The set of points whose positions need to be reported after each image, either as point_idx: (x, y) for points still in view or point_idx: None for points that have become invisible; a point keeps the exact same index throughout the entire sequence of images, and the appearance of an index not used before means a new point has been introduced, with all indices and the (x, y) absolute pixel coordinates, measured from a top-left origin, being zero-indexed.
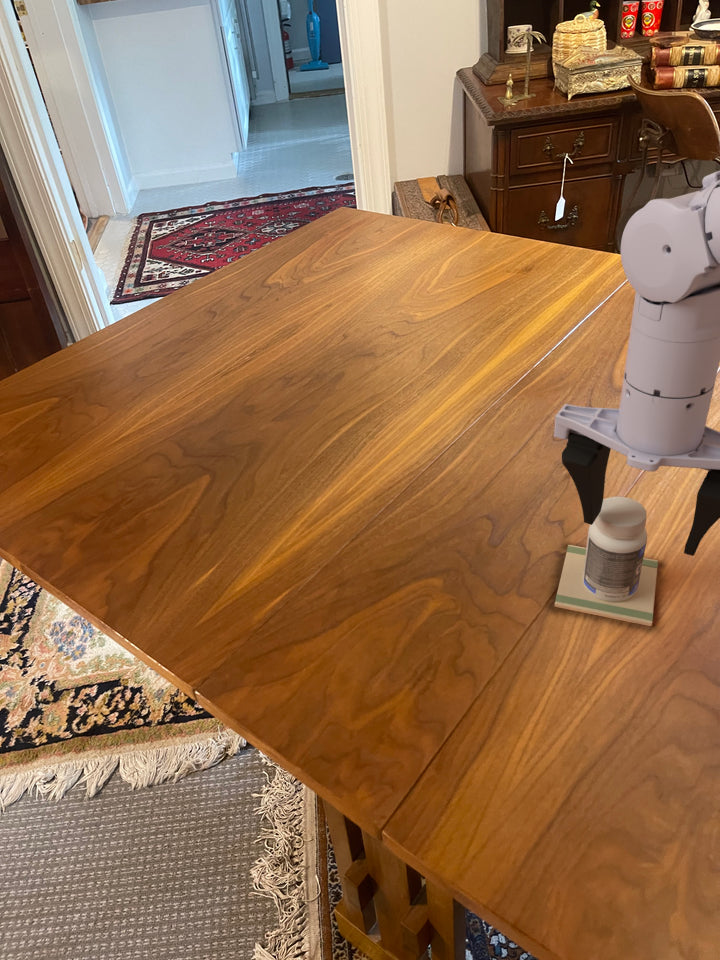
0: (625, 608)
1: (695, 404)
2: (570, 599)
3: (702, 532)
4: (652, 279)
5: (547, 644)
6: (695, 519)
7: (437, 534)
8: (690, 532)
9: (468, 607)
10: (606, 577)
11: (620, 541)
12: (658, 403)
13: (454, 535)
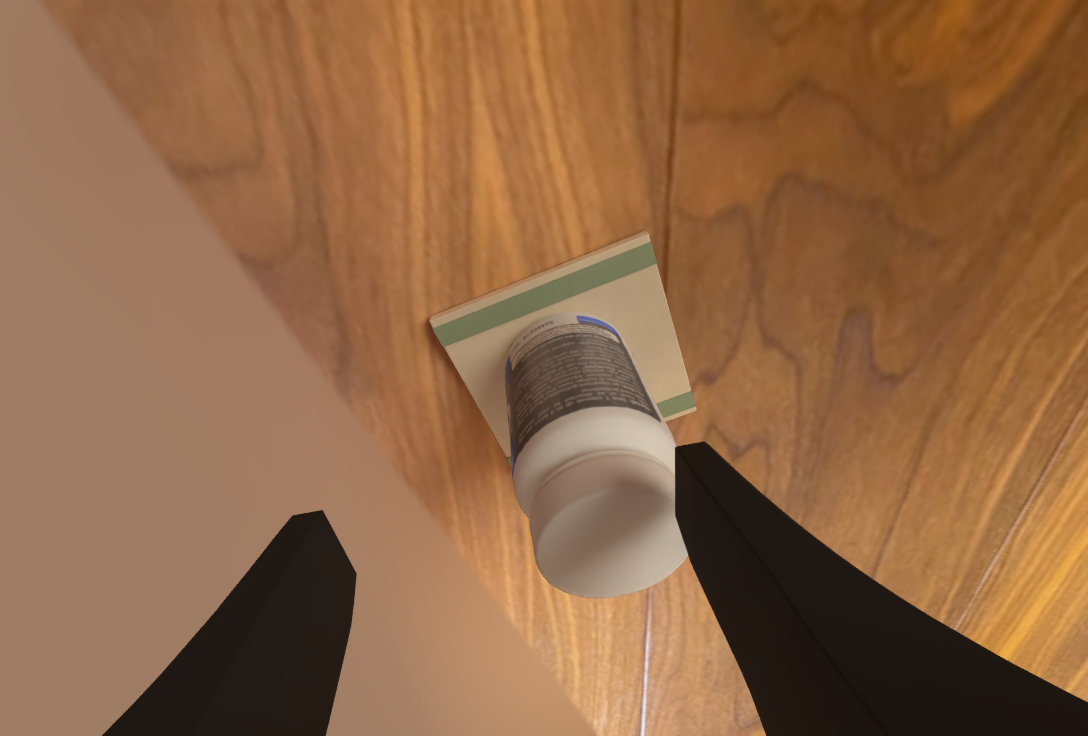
0: (499, 323)
1: None
2: (620, 269)
3: (191, 646)
4: None
5: (602, 96)
6: (190, 718)
7: (1003, 261)
8: (254, 616)
9: (852, 73)
10: (564, 351)
11: (569, 453)
12: None
13: (958, 285)
